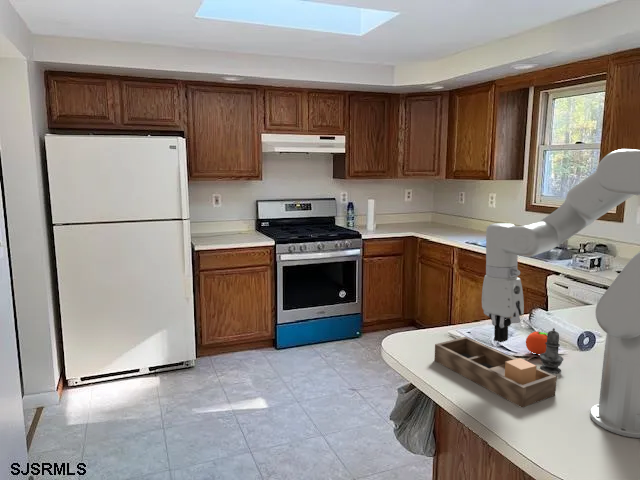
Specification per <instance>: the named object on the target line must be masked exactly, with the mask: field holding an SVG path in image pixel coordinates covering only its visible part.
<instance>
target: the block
mask: <svg viewBox="0 0 640 480" xmlns="http://www.w3.org/2000/svg"><path fill="white" fill-rule="evenodd" d="M536 368H537V365H536V364H533V362H532V363H531V362H529V361H527V360H525V359H523V358H521V357H519V358H516V359H515V360H510V361H506V362H505V377H507V378H509V379H511V380H513V381H515V382H517V383H519V384H522V385H524V384H527V383H530V382H533V381H535V379H536Z"/></svg>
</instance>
